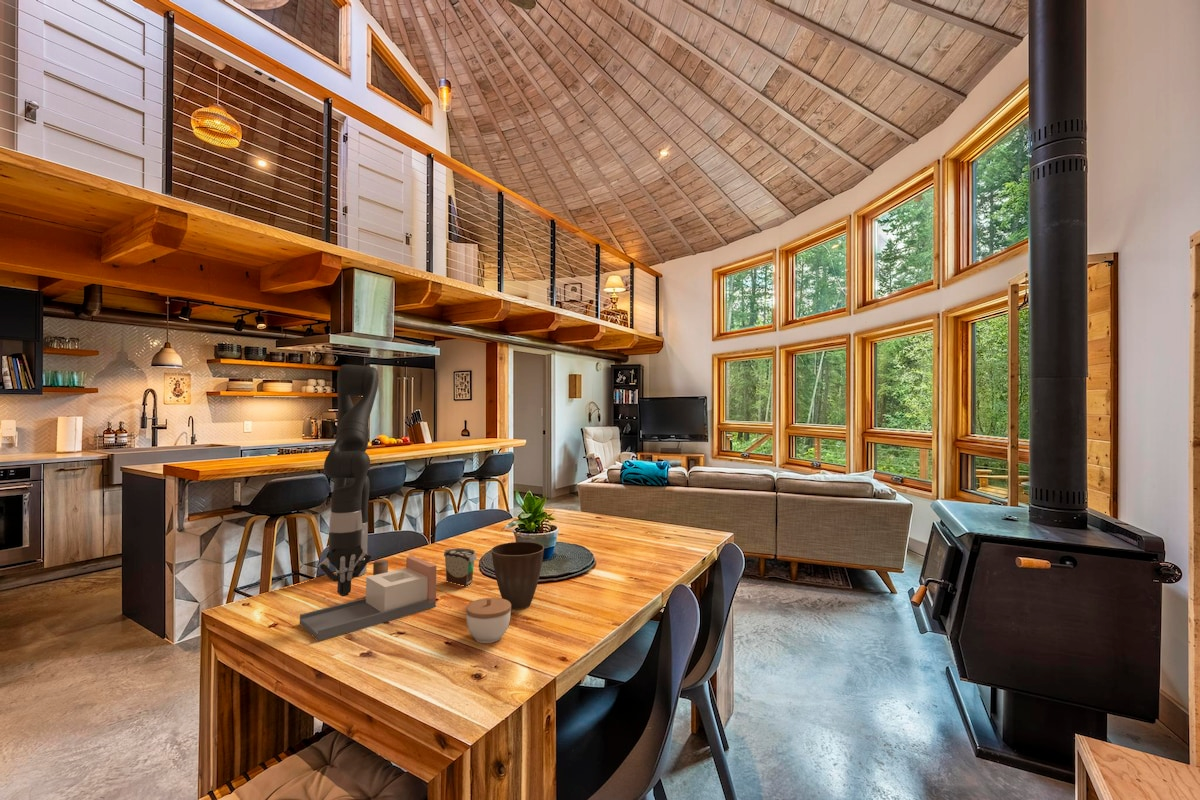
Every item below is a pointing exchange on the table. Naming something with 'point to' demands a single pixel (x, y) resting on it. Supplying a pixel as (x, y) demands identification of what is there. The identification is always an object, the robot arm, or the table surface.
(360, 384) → the robot arm
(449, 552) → the food container
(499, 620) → the lidded jar
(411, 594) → the socket block
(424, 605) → the track
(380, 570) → the dowel
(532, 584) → the plant pot
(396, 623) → the table surface
